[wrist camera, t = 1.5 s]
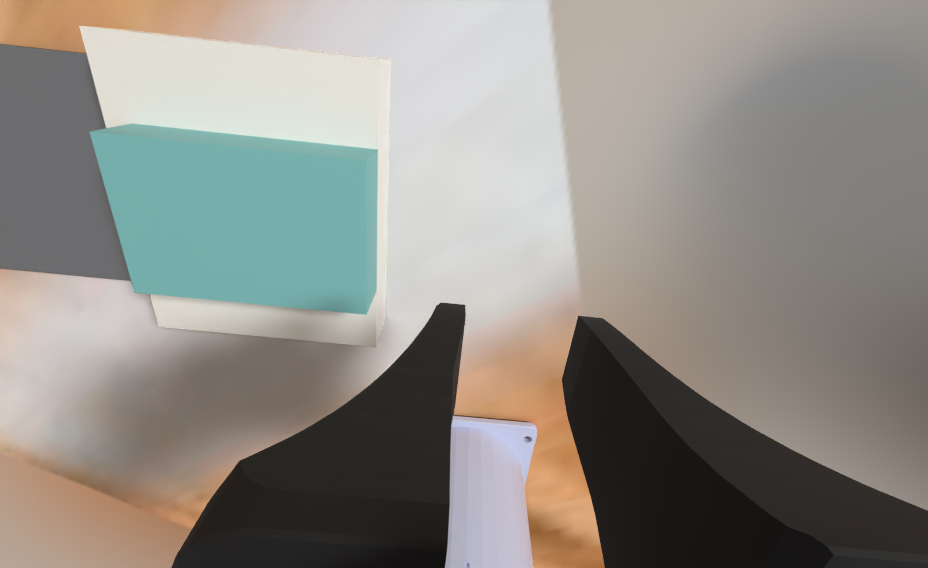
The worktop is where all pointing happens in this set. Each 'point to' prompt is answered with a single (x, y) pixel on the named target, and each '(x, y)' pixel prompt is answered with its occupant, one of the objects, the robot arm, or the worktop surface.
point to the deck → (252, 114)
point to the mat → (53, 168)
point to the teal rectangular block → (243, 216)
